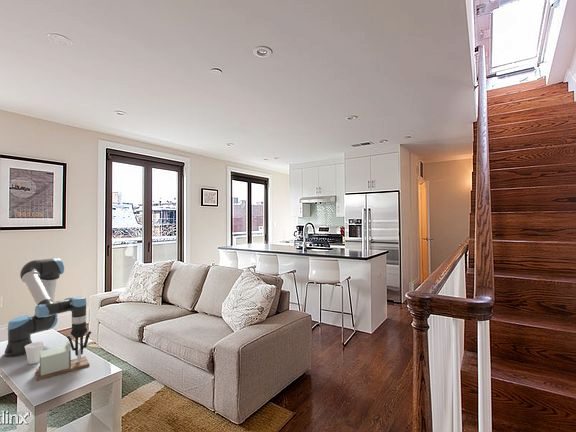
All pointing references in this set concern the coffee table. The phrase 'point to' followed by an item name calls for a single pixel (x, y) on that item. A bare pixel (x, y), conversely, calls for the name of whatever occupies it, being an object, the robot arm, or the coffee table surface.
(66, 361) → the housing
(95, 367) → the coffee table surface
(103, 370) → the coffee table surface
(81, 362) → the board
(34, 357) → the cup
